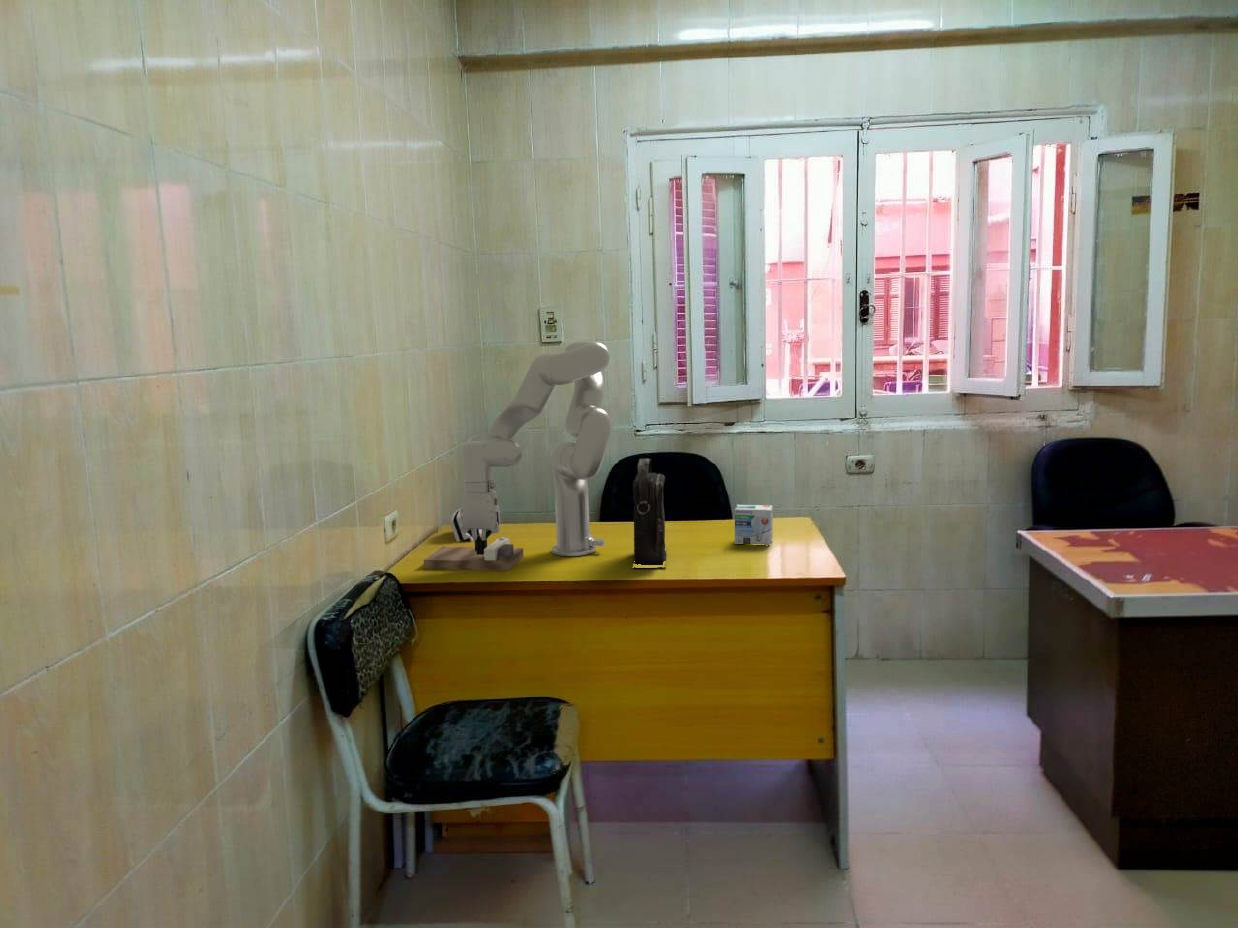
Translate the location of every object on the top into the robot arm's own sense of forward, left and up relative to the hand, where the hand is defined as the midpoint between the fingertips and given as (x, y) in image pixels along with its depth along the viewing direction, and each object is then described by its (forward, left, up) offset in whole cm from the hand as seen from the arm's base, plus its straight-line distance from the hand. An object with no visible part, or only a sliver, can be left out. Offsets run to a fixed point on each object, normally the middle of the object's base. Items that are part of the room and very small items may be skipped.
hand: (481, 553), depth 238 cm
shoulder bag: (-45, -12, -4) cm, 46 cm away
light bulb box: (-73, -31, -4) cm, 79 cm away
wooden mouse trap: (+3, -4, -4) cm, 6 cm away
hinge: (+17, -35, -4) cm, 39 cm away
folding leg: (-3, -3, -1) cm, 5 cm away
